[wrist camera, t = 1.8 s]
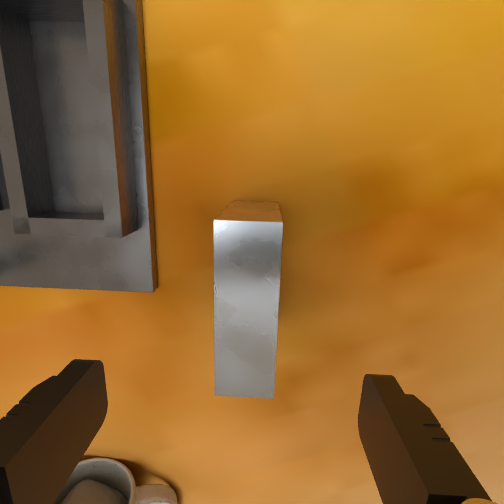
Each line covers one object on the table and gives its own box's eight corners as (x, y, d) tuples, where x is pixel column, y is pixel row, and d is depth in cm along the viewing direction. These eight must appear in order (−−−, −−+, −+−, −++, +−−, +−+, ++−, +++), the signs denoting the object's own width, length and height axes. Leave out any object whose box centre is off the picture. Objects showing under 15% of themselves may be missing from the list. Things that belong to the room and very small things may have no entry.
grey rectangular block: (277, 201, 21) (283, 222, 14) (272, 322, 24) (273, 398, 16) (233, 200, 21) (213, 219, 14) (232, 320, 24) (214, 395, 16)
